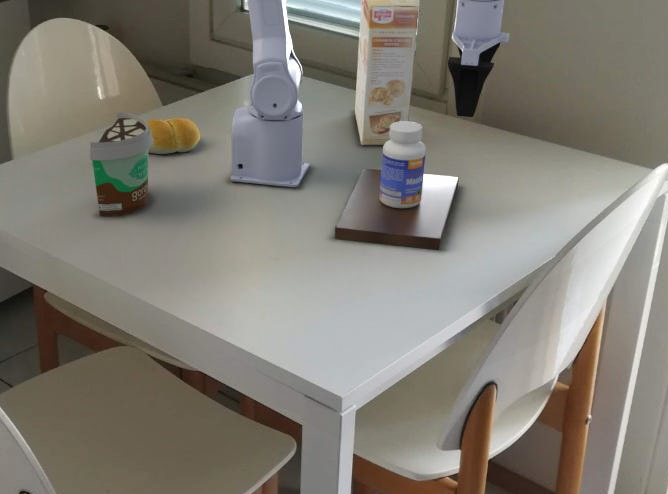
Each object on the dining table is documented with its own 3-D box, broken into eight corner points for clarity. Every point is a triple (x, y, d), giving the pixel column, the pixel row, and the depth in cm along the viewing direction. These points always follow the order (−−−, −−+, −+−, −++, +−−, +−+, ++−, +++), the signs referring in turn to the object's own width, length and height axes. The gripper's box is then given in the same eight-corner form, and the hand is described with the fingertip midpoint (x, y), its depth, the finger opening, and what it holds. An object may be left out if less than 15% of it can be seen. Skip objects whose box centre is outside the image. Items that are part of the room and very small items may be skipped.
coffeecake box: (408, 146, 162) (420, 5, 150) (359, 146, 162) (368, 5, 150) (398, 111, 173) (409, -22, 161) (353, 111, 174) (360, -22, 162)
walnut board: (334, 238, 137) (335, 227, 136) (363, 178, 152) (363, 167, 151) (439, 250, 134) (440, 238, 133) (457, 187, 149) (459, 176, 148)
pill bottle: (410, 212, 139) (416, 137, 133) (371, 203, 141) (376, 128, 136) (428, 198, 143) (435, 123, 137) (390, 189, 145) (396, 115, 139)
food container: (142, 224, 140) (136, 147, 134) (96, 220, 141) (88, 143, 135) (167, 186, 150) (163, 113, 144) (123, 183, 151) (118, 110, 145)
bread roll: (207, 151, 160) (206, 123, 158) (147, 159, 158) (145, 131, 156) (190, 132, 167) (189, 105, 164) (132, 139, 164) (131, 112, 162)
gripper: (509, 13, 130) (494, 127, 138) (518, -17, 141) (503, 91, 149) (449, 9, 131) (438, 122, 140) (463, -20, 142) (451, 86, 151)
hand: (468, 106), depth 145 cm, fingers open, 7 cm apart
